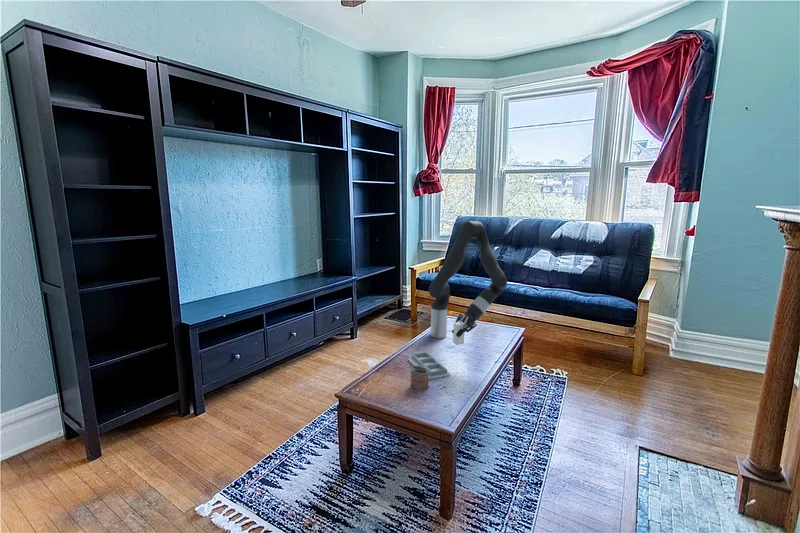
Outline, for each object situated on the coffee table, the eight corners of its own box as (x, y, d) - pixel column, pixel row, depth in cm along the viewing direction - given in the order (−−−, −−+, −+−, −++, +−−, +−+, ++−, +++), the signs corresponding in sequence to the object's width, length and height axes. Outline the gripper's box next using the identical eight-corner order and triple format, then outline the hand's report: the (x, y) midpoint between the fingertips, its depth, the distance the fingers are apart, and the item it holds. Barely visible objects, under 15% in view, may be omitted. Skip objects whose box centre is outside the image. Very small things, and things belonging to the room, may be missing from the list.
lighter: (429, 386, 170) (429, 365, 169) (427, 390, 167) (427, 368, 165) (411, 383, 173) (412, 362, 171) (409, 387, 170) (409, 366, 168)
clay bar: (453, 342, 189) (453, 322, 187) (460, 341, 191) (461, 321, 189) (456, 344, 186) (457, 325, 184) (463, 343, 188) (464, 324, 186)
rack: (408, 360, 197) (408, 354, 196) (429, 356, 201) (429, 351, 201) (427, 379, 177) (427, 373, 176) (450, 375, 181) (450, 368, 181)
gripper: (465, 299, 194) (443, 325, 192) (481, 307, 181) (457, 335, 179) (474, 308, 197) (452, 334, 195) (490, 316, 184) (467, 344, 182)
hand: (455, 334), depth 187 cm, fingers closed on clay bar, 3 cm apart
